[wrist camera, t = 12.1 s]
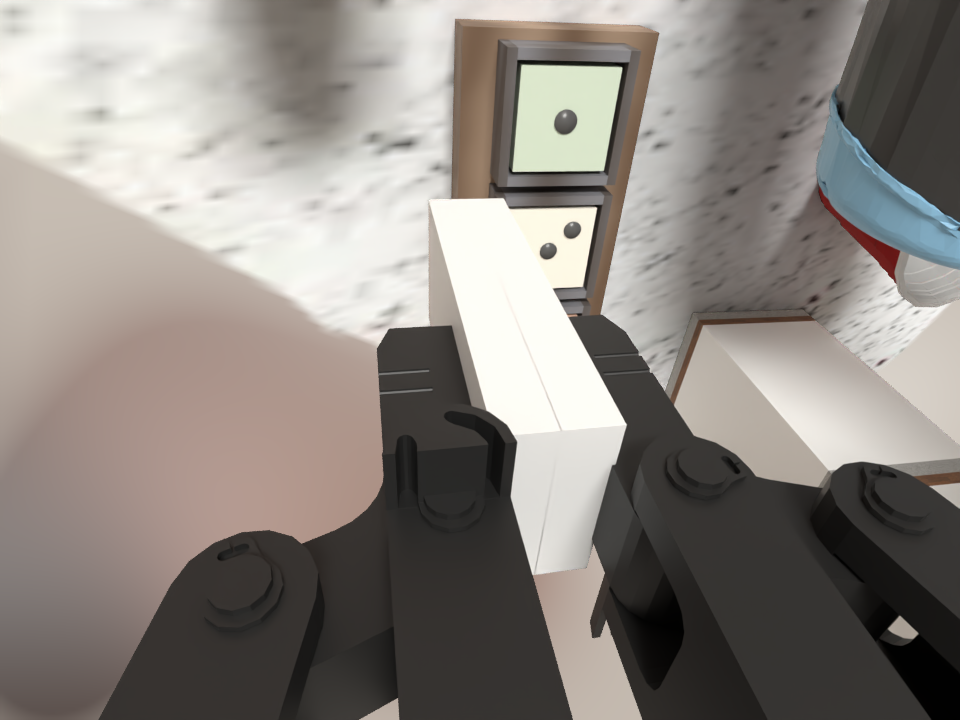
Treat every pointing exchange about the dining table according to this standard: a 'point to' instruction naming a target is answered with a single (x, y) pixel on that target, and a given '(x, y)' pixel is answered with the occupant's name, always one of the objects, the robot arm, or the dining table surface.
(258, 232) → the dining table surface
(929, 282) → the plastic cup
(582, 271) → the button three dots
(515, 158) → the button one dot
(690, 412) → the curved tiered shelf
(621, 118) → the button panel
